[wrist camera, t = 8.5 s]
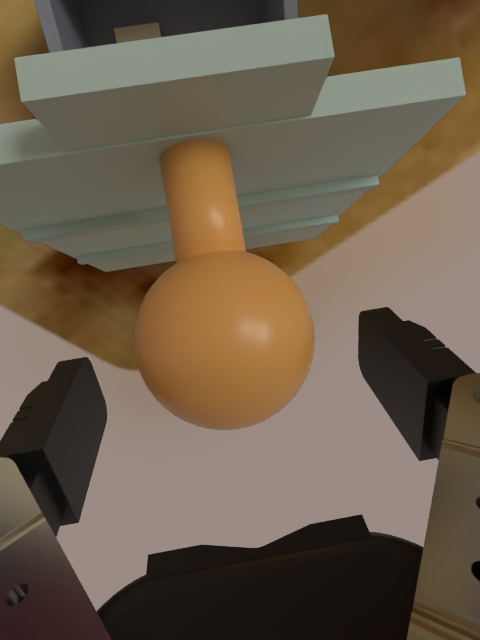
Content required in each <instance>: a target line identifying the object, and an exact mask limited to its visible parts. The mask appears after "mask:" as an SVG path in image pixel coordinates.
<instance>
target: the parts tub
mask: <svg viewBox="0 0 480 640" xmlns="http://www.w3.org/2000/svg"><path fill="white" fill-rule="evenodd" d="M34 1H35V5H36V8H37V12H38V15H39V18H40V22H41V25H42V29H43V32H44V36H45V39H46V42H47V46H48V49H49V53H52V52H59V51H66V50H73V49H81V48H88V47H95V46H102V45H109V44H117V43H124V42H131V41H138V40H145V39H152V38H160V37H167V36H174V35H181V34H188V33H196V32H203V31H210V30H217V29H224V28H231V27H239V26H246V25H253V24H260V23H267V22H274V21H282V20H289V19H296V18H298V3H297V0H34Z"/></svg>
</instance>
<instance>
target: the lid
mask: <svg viewBox="0 0 480 640" xmlns="http://www.w3.org/2000/svg"><path fill="white" fill-rule="evenodd" d="M334 58H335V55H334V49H333V43H332V38H331V32H330V26H329V20H328V14H325V15H318V16H310V17H303V18H296V19H289V20H282V21H274V22H267V23H260V24H253V25H246V26H239V27H231V28H224V29H217V30H210V31H203V32H196V33H188V34H181V35H174V36H167V37H160V38H152V39H145V40H138V41H131V42H124V43H117V44H109V45H102V46H95V47H88V48H81V49H73V50H66V51H59V52H52V53H45V54H38V55H30V56H23V57H16V58H14V61H15V67H16V73H17V79H18V85H19V91H20V97H21V102H22V103H23V104H24V105H25V107H26V108H27V109H28V110H29V111H30V112H31V113H32V114H33V115H34V116H35V118H36V119H32V120H25V121H18V122H11V123H4V124H0V225H2V226H5V227H7V228H9V229H11V230H13V231H16V232H18V233H20V234H22V235H23V240H25V241H27V242H29V243H37V242H40V243H42V244H45V245H47V246H49V247H51V248H53V249H56V250H58V251H60V252H62V253H65V254H67V255H69V256H71V257H73V258H76V259H77V262H78V263H79V264H81V265H84V264H89V265H91V266H94V267H96V268H98V269H100V270H102V271H105V272H108V271H115V270H121V269H127V268H133V267H140V266H146V265H152V264H158V263H164V262H171V261H176V264H174V265H173V266H171V267H170V268H169V269H167V270H166V271H165V272H164V273H163V274H162V275H161V276H160V277H159V278H158V279H157V280H156V281H155V283H154V284H153V285H152V286H151V288H150V289H149V291H148V292H147V294H146V295H145V297H144V300H143V302H142V304H141V306H140V309H139V312H138V315H137V318H136V324H135V330H134V348H135V356H136V360H137V364H138V368H139V370H140V373H141V376H142V378H143V380H144V382H145V384H146V385H147V387H148V389H149V390H150V392H151V393H152V394H153V396H154V397H155V398H156V399H157V400H158V401H159V402H160V403H161V404H162V405H163V406H164V407H165V408H166V409H167V410H169V411H170V412H171V413H173V414H174V415H175V416H177V417H179V418H181V419H183V420H184V421H186V422H189V423H192V424H194V425H196V426H200V427H204V428H209V429H216V430H233V429H240V428H245V427H249V426H252V425H255V424H257V423H260V422H262V421H264V420H266V419H268V418H270V417H271V416H273V415H274V414H276V413H277V412H279V411H280V410H281V409H282V408H283V407H284V406H286V405H287V404H288V403H289V402H290V401H291V400H292V398H293V397H294V396H295V395H296V394H297V392H298V391H299V389H300V387H301V386H302V384H303V383H304V381H305V378H306V376H307V374H308V372H309V369H310V366H311V363H312V358H313V352H314V337H315V336H314V327H313V321H312V317H311V313H310V310H309V308H308V305H307V302H306V300H305V298H304V297H303V295H302V293H301V291H300V290H299V288H298V287H297V286H296V284H295V283H294V281H293V280H292V279H291V278H290V277H289V276H288V275H287V274H286V273H285V272H284V271H282V270H281V269H280V268H279V267H277V266H276V265H275V264H273V263H271V262H270V261H268V260H266V259H264V258H262V257H260V256H257V255H255V254H252V253H248V252H246V249H251V248H258V247H264V246H270V245H276V244H282V243H289V242H295V241H301V240H307V239H314V238H318V237H319V236H320V235H321V234H322V233H323V232H324V231H325V230H326V229H327V228H328V227H329V226H330V225H334V224H337V223H338V222H339V218H338V217H339V216H341V215H342V214H343V213H344V212H345V211H346V210H347V209H348V208H349V207H350V206H351V205H352V204H353V203H354V202H355V201H356V200H357V199H358V198H359V197H360V196H361V195H362V194H363V193H364V192H366V191H368V190H374V189H375V188H376V187H377V186H378V185H379V178H380V177H381V176H382V175H383V174H384V173H385V172H386V171H387V170H388V169H390V168H391V167H392V166H393V165H394V164H395V163H396V162H397V161H398V160H399V159H400V158H401V157H402V156H403V155H404V154H405V153H406V152H407V151H408V150H409V149H410V148H411V147H412V146H413V145H415V144H416V143H417V142H418V141H419V140H420V139H421V138H422V137H423V136H424V135H425V134H426V133H427V132H428V131H429V130H430V129H431V128H432V127H433V126H434V125H435V124H436V123H437V122H439V121H440V120H441V119H442V118H443V117H444V116H445V115H446V114H447V113H448V112H449V111H450V110H451V109H452V108H453V107H454V106H455V105H456V104H457V103H458V102H459V101H460V100H461V99H462V98H464V97H465V96H466V91H465V85H464V79H463V73H462V68H461V62H460V57H458V58H451V59H444V60H438V61H431V62H424V63H417V64H410V65H403V66H396V67H389V68H383V69H376V70H369V71H362V72H355V73H348V74H341V75H334V76H328V77H327V75H328V72H329V70H330V67H331V65H332V62H333V60H334Z"/></svg>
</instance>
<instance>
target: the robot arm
mask: <svg viewBox="0 0 480 640" xmlns="http://www.w3.org/2000/svg"><path fill="white" fill-rule="evenodd" d="M358 341H359V343H358V344H359V345H358V358H359V366H360V370H361V372H362V375H363V377H364V379H365V380H366V382H367V383H368V385H369V386H370V388H371V389H372V390H373V392H374V394H375V395H376V397H377V398H378V400H379V401H380V403H381V404H382V406H383V407H384V409H385V410H386V412H387V413H388V415H389V416H390V418H391V419H392V421H393V422H394V424H395V425H396V427H397V428H398V430H399V431H400V432H401V434H402V436H403V437H404V439H405V440H406V442H407V443H408V445H409V446H410V448H411V449H412V451H413V452H414V454H415V455H416V457H417V458H418V460H419V461H422V460H427V459H433V458H437V459H438V460H439V462H438V468H437V474H436V479H435V485H434V491H433V496H432V502H431V508H430V514H429V519H428V525H427V531H426V536H425V542H424V548H423V547H421V546H420V545H418V544H415V543H413V542H410V541H408V540H405V539H402V538H399V537H395V536H392V535H388V534H382V533H376V532H369V530H368V528H367V525H366V523H365V521H364V519H363V516H362V515H357V516H352V517H346V518H341V519H336V520H330V521H326V522H320V523H314V524H310V525H308V526H305V527H303V528H301V529H299V530H297V531H295V532H293V533H291V534H288V535H286V536H284V537H282V538H280V539H278V540H276V541H273V542H271V543H269V544H267V545H265V546H262V547H260V548H242V547H226V546H212V545H198V546H192V547H188V548H182V549H176V550H172V551H166V552H161V553H155V554H150V555H148V562H147V573H146V575H144V576H142V577H140V578H138V579H137V580H135V581H133V582H132V583H130V584H128V585H127V586H125V587H124V588H123V589H121V590H120V591H119V592H117V593H116V594H115V595H113V596H112V597H111V598H110V599H109V600H108V601H107V602H106V603H104V604H103V605H102V606H101V607H100V608H99V610H98V611H97V612H96V610H95V608H94V606H93V604H92V603H91V601H90V599H89V597H88V595H87V593H86V592H85V590H84V588H83V586H82V584H81V582H80V581H79V579H78V577H77V575H76V573H75V571H74V570H73V568H72V566H71V564H70V562H69V561H68V559H67V557H66V555H65V553H64V552H63V550H62V548H61V546H60V544H59V542H58V540H57V539H56V536H57V533H58V530H59V527H60V526H62V525H68V524H73V523H78V522H79V519H80V516H81V512H82V508H83V505H84V501H85V498H86V494H87V490H88V487H89V483H90V479H91V476H92V472H93V469H94V465H95V461H96V457H97V454H98V450H99V447H100V443H101V440H102V436H103V432H104V429H105V425H106V421H107V409H106V403H105V399H104V397H103V394H102V391H101V388H100V386H99V383H98V380H97V377H96V375H95V372H94V369H93V366H92V364H91V362H90V360H89V359H88V358H87V357H84V358H78V359H72V360H66V361H60V362H58V363H57V365H56V367H55V369H54V370H53V372H52V374H51V376H50V378H49V380H48V381H46V382H41V383H40V384H39V385H38V386H37V387H36V388H35V389H34V390H32V391H31V392H30V393H29V394H28V395H27V397H26V398H25V400H24V402H23V403H22V405H21V407H20V411H18V412H17V414H16V415H15V417H14V419H13V422H12V423H11V424H10V425H9V427H8V429H7V430H6V432H5V434H4V436H3V438H2V439H1V441H0V640H480V373H475V372H474V371H473V370H472V369H471V368H470V367H469V366H468V365H467V364H465V363H464V362H463V361H462V360H461V359H460V358H459V357H458V356H456V355H455V354H454V353H453V352H452V351H451V350H450V349H449V348H446V347H445V345H444V344H443V343H442V342H441V341H440V340H437V339H436V337H435V336H434V335H433V334H432V333H431V332H430V331H428V330H427V329H426V328H425V327H423V326H420V325H418V324H416V323H414V322H411V321H409V320H408V321H402V320H401V319H400V318H399V317H398V316H397V315H396V314H395V313H394V312H393V311H392V310H391V309H390V308H388V307H384V308H378V309H372V310H366V311H362V312H360V314H359V340H358Z"/></svg>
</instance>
